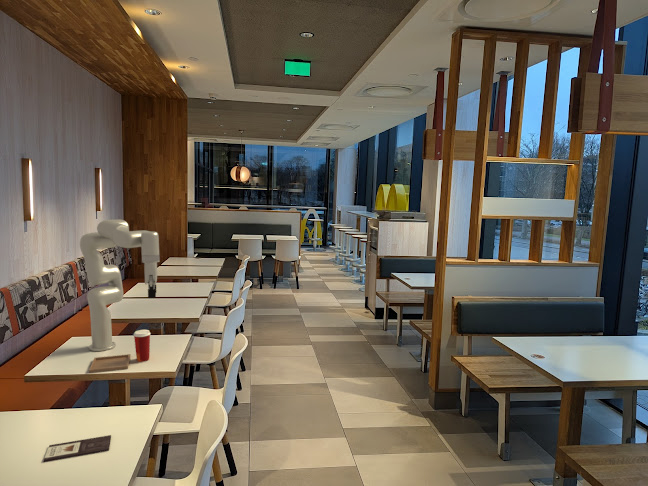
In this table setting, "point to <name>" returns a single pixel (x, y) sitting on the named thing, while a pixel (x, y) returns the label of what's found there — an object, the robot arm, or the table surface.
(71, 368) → the table surface
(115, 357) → the tray
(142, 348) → the paper cup
